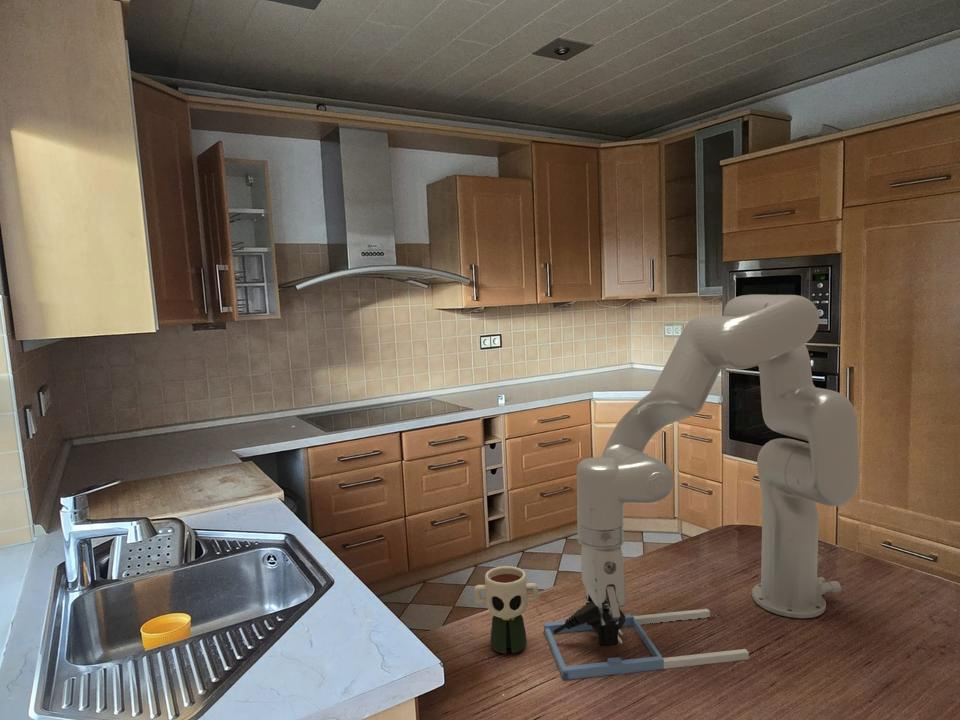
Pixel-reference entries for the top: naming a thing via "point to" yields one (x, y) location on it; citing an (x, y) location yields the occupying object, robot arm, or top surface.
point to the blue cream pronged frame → (647, 663)
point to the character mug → (507, 606)
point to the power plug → (590, 619)
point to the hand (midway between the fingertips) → (601, 633)
